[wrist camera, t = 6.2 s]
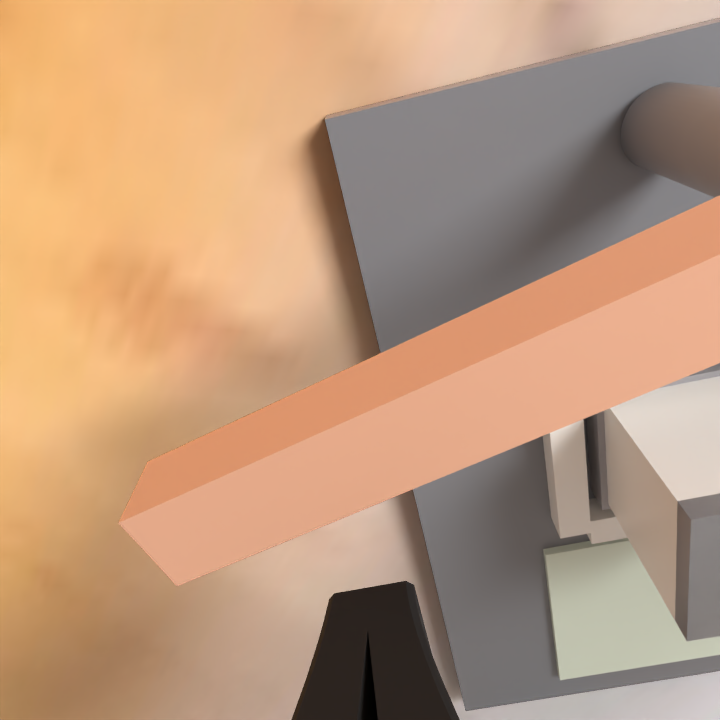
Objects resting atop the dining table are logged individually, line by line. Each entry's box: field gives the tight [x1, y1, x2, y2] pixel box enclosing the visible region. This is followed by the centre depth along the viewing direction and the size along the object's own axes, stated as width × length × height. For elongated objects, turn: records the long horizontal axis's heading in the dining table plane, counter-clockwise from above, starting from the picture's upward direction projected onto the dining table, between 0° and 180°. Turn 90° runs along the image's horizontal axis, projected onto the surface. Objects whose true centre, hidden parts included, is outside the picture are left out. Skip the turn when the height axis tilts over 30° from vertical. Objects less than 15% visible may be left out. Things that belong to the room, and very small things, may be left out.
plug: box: [587, 363, 720, 641], centre depth 16 cm, size 4×4×6 cm
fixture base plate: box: [325, 18, 720, 711], centre depth 19 cm, size 16×24×2 cm, turn 13°
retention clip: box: [118, 82, 720, 586], centre depth 12 cm, size 2×13×8 cm, turn 117°
